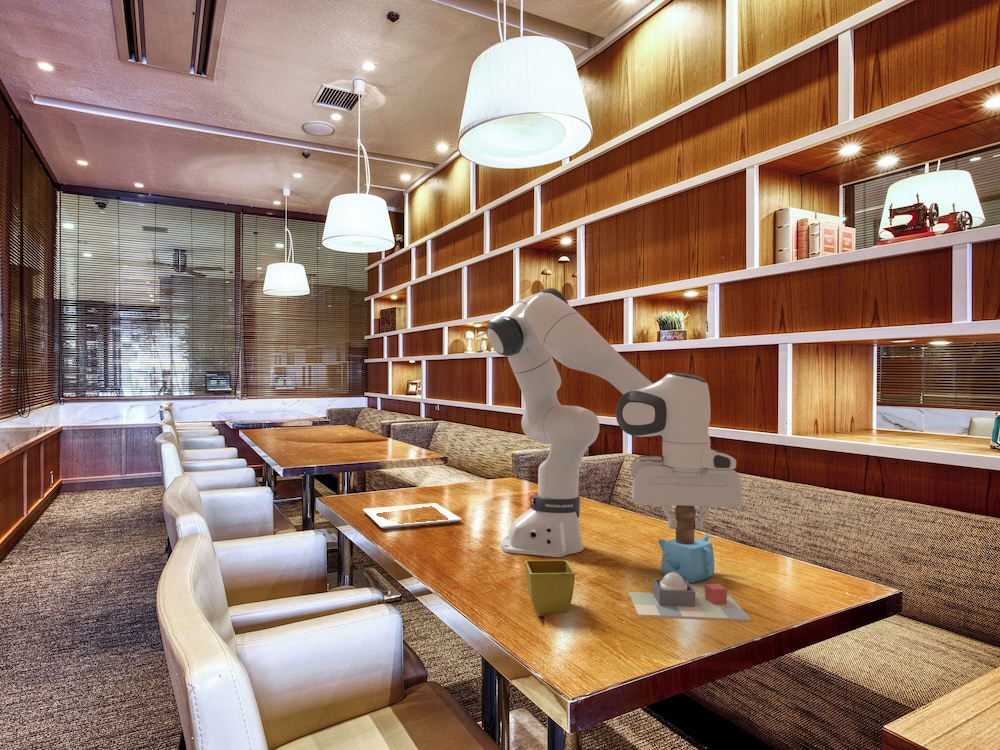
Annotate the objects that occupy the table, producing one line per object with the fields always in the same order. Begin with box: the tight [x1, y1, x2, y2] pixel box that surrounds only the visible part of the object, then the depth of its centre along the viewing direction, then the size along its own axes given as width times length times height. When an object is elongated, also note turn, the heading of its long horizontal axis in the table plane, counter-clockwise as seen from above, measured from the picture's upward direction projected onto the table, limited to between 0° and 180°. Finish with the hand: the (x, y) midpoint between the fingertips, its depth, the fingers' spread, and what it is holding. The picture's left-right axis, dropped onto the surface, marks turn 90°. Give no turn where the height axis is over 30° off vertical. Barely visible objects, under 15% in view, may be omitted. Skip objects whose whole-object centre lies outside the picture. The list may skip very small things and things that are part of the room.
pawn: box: [674, 505, 697, 545], centre depth 111 cm, size 4×4×8 cm
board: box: [628, 578, 754, 622], centre depth 115 cm, size 21×13×4 cm, turn 86°
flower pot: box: [524, 559, 576, 617], centre depth 114 cm, size 9×9×9 cm
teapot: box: [657, 533, 715, 584], centre depth 134 cm, size 18×14×10 cm
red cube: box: [704, 583, 728, 605], centre depth 118 cm, size 3×3×3 cm
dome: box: [660, 572, 687, 591], centre depth 118 cm, size 5×5×5 cm
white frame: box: [362, 502, 463, 530], centre depth 190 cm, size 26×26×2 cm
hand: (685, 528), depth 112 cm, fingers closed on pawn, 3 cm apart
